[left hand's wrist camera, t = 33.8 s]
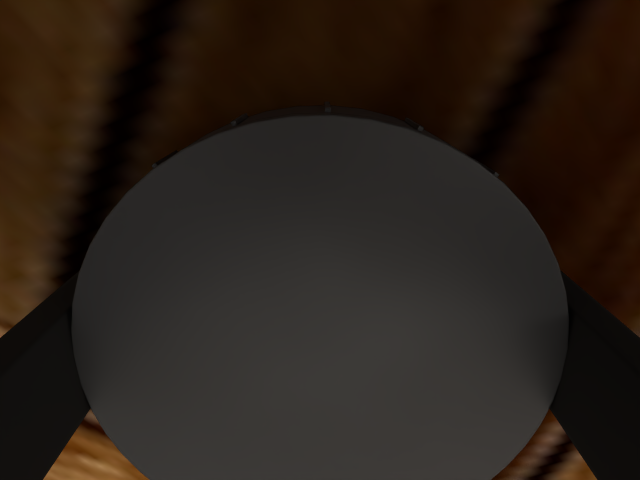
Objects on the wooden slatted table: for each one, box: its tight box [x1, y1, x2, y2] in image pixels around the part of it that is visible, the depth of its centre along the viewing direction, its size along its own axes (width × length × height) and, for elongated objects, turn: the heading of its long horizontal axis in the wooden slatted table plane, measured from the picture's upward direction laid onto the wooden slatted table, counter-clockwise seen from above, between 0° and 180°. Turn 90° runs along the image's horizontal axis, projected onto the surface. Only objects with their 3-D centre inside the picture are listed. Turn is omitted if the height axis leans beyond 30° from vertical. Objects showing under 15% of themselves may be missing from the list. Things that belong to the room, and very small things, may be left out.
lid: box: [71, 102, 569, 480], centre depth 11 cm, size 11×11×2 cm
